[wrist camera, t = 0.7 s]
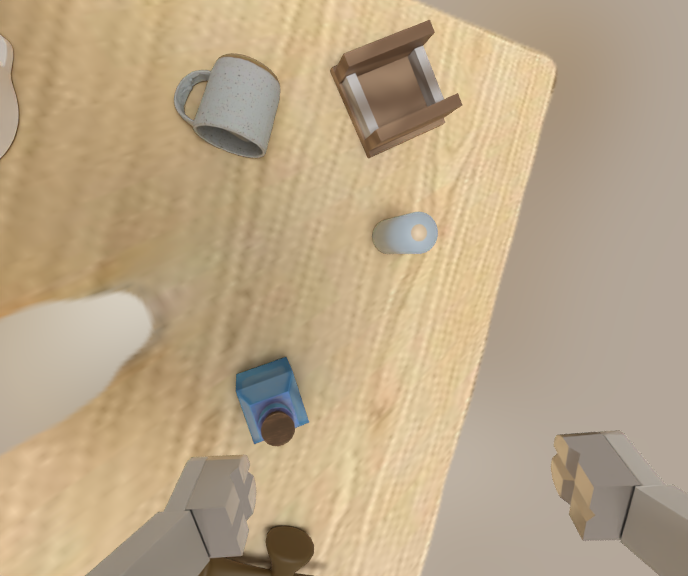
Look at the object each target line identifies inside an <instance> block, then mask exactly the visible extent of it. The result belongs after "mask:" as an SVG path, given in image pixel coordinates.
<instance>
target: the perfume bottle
mask: <svg viewBox="0 0 688 576" xmlns="http://www.w3.org/2000/svg"><path fill="white" fill-rule="evenodd" d="M236 393H237V396H238V399H239V402H240V405H241V408H242V410H243V413H244V416H245V419H246V422H247V425H248V428H249V431H250V433H251V436H252V439H253V442H254V444H256V443H259V442H261V441H265V442H266V443H267V444H269V445H272V446H281V445H284V444H286V443H287V442H289V441H290V440H291V438H292V437H293V435H294V432H295V428H297V427H299V426H302V425H304V424H306V423H309V420H308V417H307V414H306V411H305V408H304V405H303V402H302V399H301V396H300V393H299V389H298V386H297V383H296V380H295V377H294V374H293V371H292V369H291V366H290V364H289V362H288V360H287V357H284V358H281V359H278V360H275V361H273V362H270V363H267V364H264V365H261V366H259V367H256V368H253V369H250V370H247V371H244V372H242V373H239V374H236Z"/></svg>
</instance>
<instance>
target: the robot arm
mask: <svg viewBox="0 0 688 576" xmlns="http://www.w3.org/2000/svg"><path fill="white" fill-rule="evenodd" d="M12 63H13V48H12V45H11V44H10V42H9V41H8V40H7V39H6V38H4V37H3V36H1V35H0V158H1V157H2V156H3V155H4V154H5V152H6V151H7V150H8V148H9V147H10V145H11V143H12V141H13V139H14V136H15V134H16V130H17V126H18V103H17V98H16V94H15V91H14V88H13V85H12V81H11V69H12ZM554 447H555V449H556V451H557V454H556V455H555V456H554V457H553V458H552V462H551V472H552V478H553V482H554V485H555V487H556V490H557V492H558V494H559V496H560V498H562V499H563V500H564V501H566V502H567V503H568V504H570V511H569V515H570V517H571V519H572V521H573V523H574V524H575V527H576V529H577V530H578V532H579V534H580V536H581V538H582V540H583V541H586V540H588V541H589V540H621V543H622V544H624V545H625V546H626V547H627V548H628V549H629V550H630V551H631V552H633V553H634V554H635V555H636V556H637V557H638V558H640V559H641V560H642V561H643V562H644V563H645V564H647V565H648V566H649V567H650V568H651V569H652V570H654V571H655V572H656V573H657V574H658V575H659V576H688V493H686V492H685V491H683V490H682V489H679V488H678V487H676V486H675V485H666V484H665V483H664V481H663V480H662V479H661V478H660V476H659V475H658V474H657V473H656V472H655V470H654V469H653V468H652V467H651V466H650V465H649V463H648V462H647V461H646V460H645V458H644V457H643V456H642V454H641V453H640V452H639V451H638V450H637V448H636V447H635V446H634V445H633V443H632V442H631V441H630V440H629V439H628V438H627V436H626V435H625V434H624V433H623V432H621V431H620V430H616V431H601V432H586V433H572V434H560V435H557V436H556V437H555V440H554ZM249 466H250V463H249V460H248V457H247V455H226V456H207V457H191V458H190V459H189V460H188V461H187V463H186V465H185V467H184V469H183V471H182V473H181V476H180V478H179V480H178V482H177V484H176V486H175V488H174V490H173V493H172V495H171V497H170V499H169V501H168V503H167V505H166V507H165V509H164V512H158V513H156V514H155V515H154V516H153V517H152V518H151V519H150V520H148V521H147V522H146V523H145V524H144V525H143V526H142V527H140V528H139V529H138V530H137V531H136V532H135V533H134V534H132V535H131V536H130V537H129V538H128V539H127V540H126V541H124V542H123V543H122V544H121V545H120V546H119V547H117V548H116V549H115V550H114V551H113V552H112V553H111V554H109V555H108V556H107V557H106V558H105V559H104V560H103V561H101V562H100V563H99V564H98V565H97V566H96V567H95V568H93V569H92V570H91V571H90V572H89V573H88V574H87V575H85V576H198V575H199V574H200V572H201V571H202V570H203V569H204V567H205V566H206V565H207V563H208V562H209V561H210V559H209V558H219V557H233V556H242V555H243V551H244V547H245V543H246V539H247V536H248V532H249V529H248V526H247V522H246V521H247V520H248V518H249V517H250V516H251V515H252V514H253V511H254V507H255V502H256V484H255V480H254V476H253V475H251V474H250V473H249V472H248V470H249Z"/></svg>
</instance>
